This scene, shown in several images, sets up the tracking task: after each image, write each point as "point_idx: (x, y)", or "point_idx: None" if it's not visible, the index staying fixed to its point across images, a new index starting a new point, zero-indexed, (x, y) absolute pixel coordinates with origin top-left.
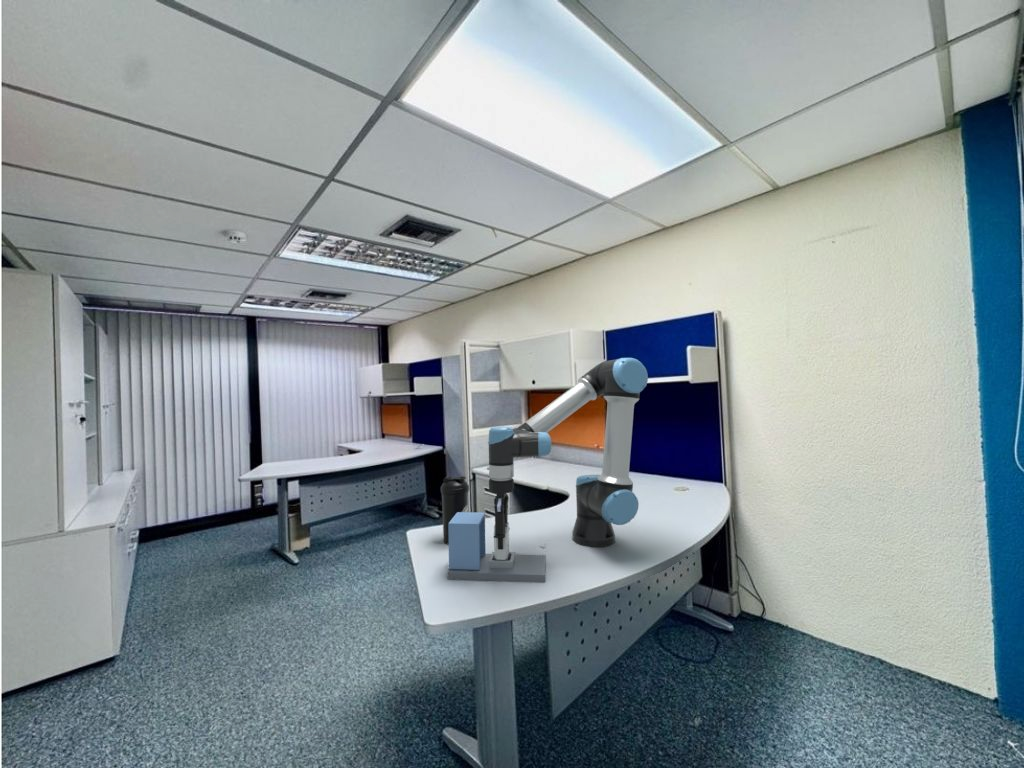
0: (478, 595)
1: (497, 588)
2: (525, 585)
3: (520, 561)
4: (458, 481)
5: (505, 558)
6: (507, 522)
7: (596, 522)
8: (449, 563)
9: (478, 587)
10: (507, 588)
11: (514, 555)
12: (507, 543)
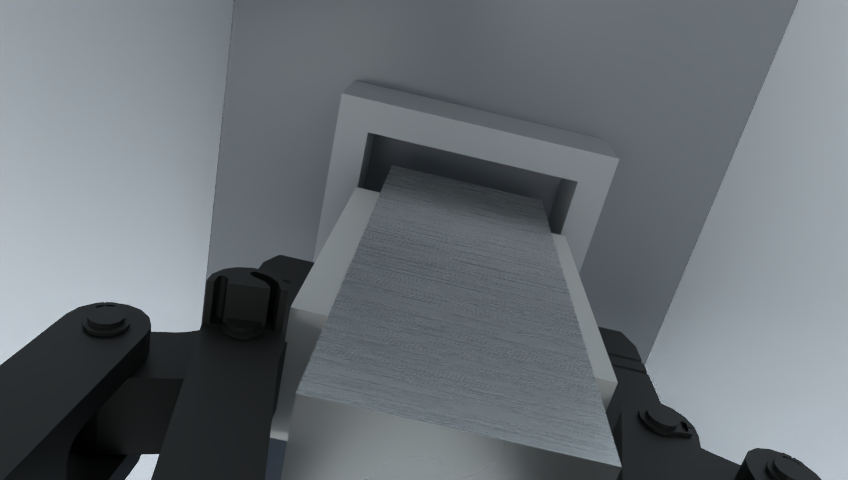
0: (845, 417)
1: (789, 280)
2: (830, 29)
3: (438, 25)
4: None
5: (554, 237)
6: (67, 337)
7: None
8: None
9: (719, 408)
10: (822, 202)
11: (381, 97)
12: (567, 287)
